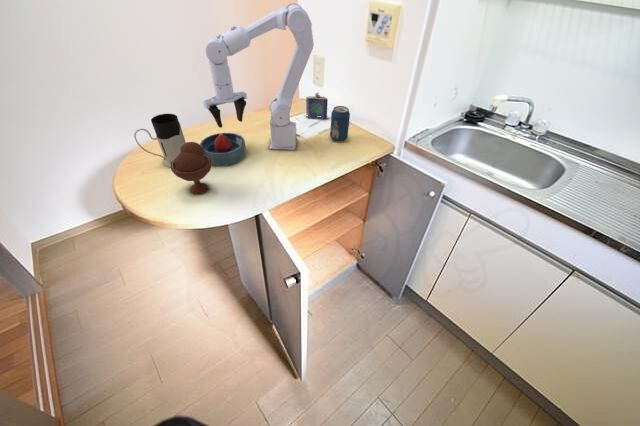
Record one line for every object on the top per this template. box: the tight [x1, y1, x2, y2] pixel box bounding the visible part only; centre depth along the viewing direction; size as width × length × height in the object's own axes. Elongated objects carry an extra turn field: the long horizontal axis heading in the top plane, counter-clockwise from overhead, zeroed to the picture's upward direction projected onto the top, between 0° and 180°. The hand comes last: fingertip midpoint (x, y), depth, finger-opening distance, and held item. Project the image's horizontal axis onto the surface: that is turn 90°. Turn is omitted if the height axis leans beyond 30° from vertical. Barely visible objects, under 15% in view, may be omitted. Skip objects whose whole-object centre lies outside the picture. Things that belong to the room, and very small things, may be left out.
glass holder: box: [133, 113, 187, 168], centre depth 94 cm, size 9×14×15 cm, turn 131°
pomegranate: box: [214, 132, 232, 153], centre depth 100 cm, size 6×6×8 cm
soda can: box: [329, 105, 351, 143], centre depth 111 cm, size 7×7×12 cm
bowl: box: [199, 132, 248, 167], centre depth 102 cm, size 15×15×5 cm
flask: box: [305, 92, 329, 120], centre depth 126 cm, size 9×3×11 cm, turn 84°
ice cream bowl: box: [170, 141, 212, 196], centre depth 83 cm, size 11×11×15 cm
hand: (230, 123), depth 101 cm, fingers open, 7 cm apart
